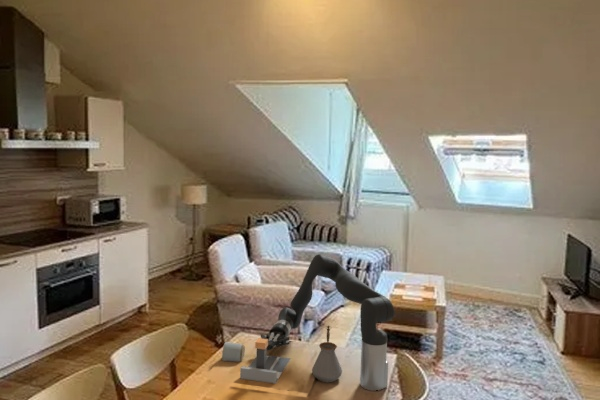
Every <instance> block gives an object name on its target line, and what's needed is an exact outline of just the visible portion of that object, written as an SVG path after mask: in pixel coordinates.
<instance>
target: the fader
mask: <svg viewBox="0 0 600 400" xmlns="http://www.w3.org/2000/svg"><path fill="white" fill-rule="evenodd" d="M254 343H255V346H254V349H256V356H257V358H256V368H258V369H266V360H267V355H268V354H267V352H268V350H267V346H268V339H261V337H259V338H257V339H256V340H255V342H254Z"/></svg>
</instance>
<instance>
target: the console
mask: <svg viewBox="0 0 600 400" xmlns="http://www.w3.org/2000/svg"><path fill="white" fill-rule="evenodd" d="M256 358H257V355H256V356H255V357H254V359H253V360H252V362H251V363H250V364H249V365H248V366H241V367H240V370H239V371H240V372H239V373H240V374H239V377H240V378H239V379H240V380H245V381H246V380H247V381H255V382H261V383H269V384H275V385H276V384H277V382H278V380H279V379H280V377H281V376H282V375H283V372H284V371H285V369H286V367H287V365H288V364H289V362H290V360H291V358H290V357H283V356H277V355H276V356H275V355H268V354H267V360H266V369H258V368H256Z"/></svg>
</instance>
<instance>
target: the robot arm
mask: <svg viewBox="0 0 600 400" xmlns="http://www.w3.org/2000/svg"><path fill="white" fill-rule="evenodd" d="M316 277H322V278H326V279H329V280H331V281H333V282H334V283H335V284H334V285H335V289H336V290H337V292H338V293H339V294H340V295H341V296H343V297H344V298H345V299H346V300H348V301H350V302H353V303H356V304H360V332H361V333H360V334H361V349H360V350H361V352H360V353H361V355H360V374H359V385H360V387H362V388H363V389H365V390H367V391H371V392H373V391H374V392H377V391H376V390H378V391H382V390H384V389H386V388H388V380H389V379H388V378H389V362H388V361H387V355H388V354H387V352H388V350H387V348H388V334H387V332H385V331H384V330H382V329H378V328H377V324H383V323H386V322H389V321H391V320H392V319H393V318H394V316H395V308H394V305H393V303H392V302H391V300H390V299H389V298H388V297H387V296H385V295H383V294H381V293H379V292H378V291H375V290H374V289H373V288H371V287H370V286H369V285H367V284H366V283H364V282H363V281H362V280H361V279H360V278H359V277H357V276H356V275H354V274H353V273H351V272H350V271H348V270H347V269H345V267H343V266H342V265H341V263H339V261H338V260H336V258H334V257H331V256H328V255H324V254H319V253H318V254H316V255H314V257H312V259H311V261H310V263H309V265H308V267H307V270H306V272H305V275H304V278H303V279H302V282H301V285H300V286H299V289H298V290H297V292H296V293H295V294H294V297H293V298H292V299H291V301H290V307H291V308H290V307H283V308H282V309H281V310H280V311H279V313H278V317H277V322H275V324H273V326H272V327H271V329H269V332H268V333H266V334H265V335H264V334H263V333H262V334H260V338H261V339H268V346H267V351H271V350H273V349H274V348H275V347H276V346H277V348H278V347H279V348H280V347H283V346H287V345H289V344H290V337H288V336H289V335H290V333H291V331H292V330H293V329H297V328H298V327H299V326H300V325H301V322H302V318H303V314H304V312H305V310H306V308H307V307H308V305H309V303H310V301H311V300H312V297H313V284H314V280H315V279H316ZM381 389H382V390H381Z"/></svg>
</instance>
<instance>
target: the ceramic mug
mask: <svg viewBox="0 0 600 400" xmlns="http://www.w3.org/2000/svg"><path fill="white" fill-rule="evenodd" d="M222 347H223V348H222V353H221V354H222V355H221V357H222V358H221V360H222V361H223V362H243V361H244V357H245V354H246V353H245V351H246V350H245V349H246V347H245V345H244V344H241V343H236V342H229V341H225V342H224V344H223V346H222Z"/></svg>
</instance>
